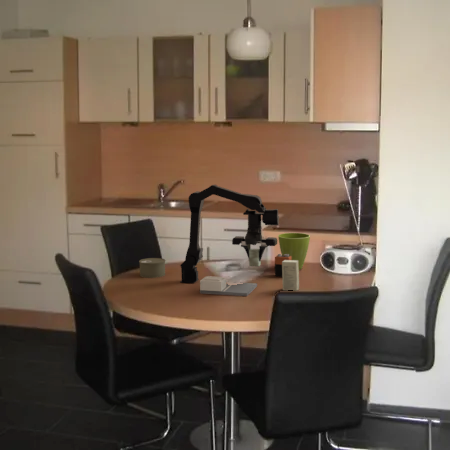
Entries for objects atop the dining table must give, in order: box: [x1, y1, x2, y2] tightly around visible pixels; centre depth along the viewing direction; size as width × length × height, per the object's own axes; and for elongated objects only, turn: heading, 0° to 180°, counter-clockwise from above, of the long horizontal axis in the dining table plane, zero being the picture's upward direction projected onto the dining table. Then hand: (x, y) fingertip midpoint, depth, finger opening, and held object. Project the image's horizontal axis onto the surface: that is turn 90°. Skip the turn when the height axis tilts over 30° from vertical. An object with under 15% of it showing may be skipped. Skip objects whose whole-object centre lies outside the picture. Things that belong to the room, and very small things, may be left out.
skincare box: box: [281, 260, 300, 292], centre depth 278 cm, size 6×4×12 cm
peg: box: [248, 248, 262, 268], centre depth 289 cm, size 4×4×7 cm
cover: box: [199, 275, 227, 291], centre depth 276 cm, size 9×7×5 cm
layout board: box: [199, 282, 258, 297], centre depth 280 cm, size 20×17×1 cm
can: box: [138, 257, 166, 279], centre depth 310 cm, size 12×12×7 cm
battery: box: [274, 253, 292, 278], centre depth 303 cm, size 4×7×10 cm, turn 68°
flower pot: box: [277, 232, 311, 271], centre depth 318 cm, size 15×15×16 cm
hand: (254, 260), depth 289 cm, fingers closed on peg, 4 cm apart
